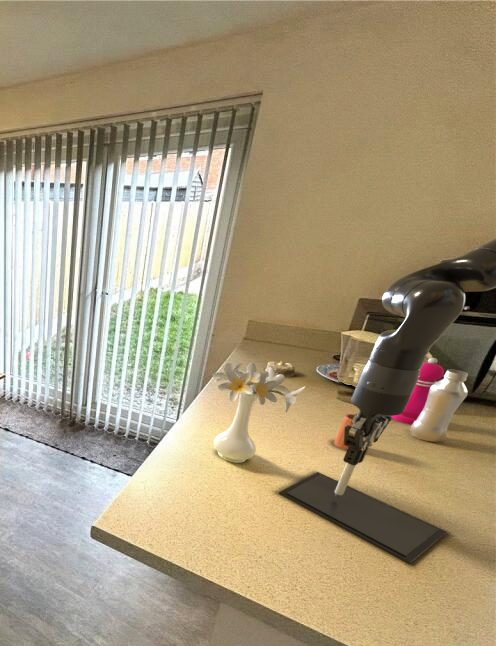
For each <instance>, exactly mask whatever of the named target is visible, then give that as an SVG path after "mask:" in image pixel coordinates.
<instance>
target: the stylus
mask: <svg viewBox="0 0 496 646" xmlns="http://www.w3.org/2000/svg"><path fill="white" fill-rule="evenodd" d="M356 466H357V465H355V466H354V465H351V464H349V463H346V462H345V465H344V468H343V470H342V473H341V475H340V478H339V480H338V485H337V487H336V489H335V493H336V494H335V496H336V497H338V498H339V497H340V496H341V495H343V493H344V491H345V489H346V486H348V484H349V482H350V479H351V477H352V475H353V472H354V470H355V468H356Z"/></svg>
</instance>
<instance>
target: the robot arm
mask: <svg viewBox="0 0 496 646" xmlns="http://www.w3.org/2000/svg"><path fill="white" fill-rule="evenodd" d="M494 289H496V238H494V239H492V240H490V241H488V242H486V243H484V244H482V245H480V246H478V247H476V248H474V249H472V250H470V251H468V252H466V253H465V254H463V255H461V256H458V257H455V258H452V259H448V260H445V261H442V262H439V263H436V264H433V265H430V266H427V267H425V268H422V269H418V270H416V271H414V272H411V273H408V274H406V275H404V276H403V277H401V278H399V279H397V280H396V281H394V282H393V283H391V284H390V286H388V287H387V289H386V290H385V291H384V293H383V295H382V298H381V304H382V306H383V308H384V309H385V310H386V311H387V312H389V313H390V314H392V315H395V316H400V317H403V318H404V320H403V322H402V324H401V325H400V326H399V327H398V328H397V329H388V330H385V331H383V332H381V333H380V334H379V335H378V336H377V338H376V340H375V343H374V345H373V348H372V350H371V351H370V352H371V353H370V355H369V358H368V359H367V362H366V364H365V365H364V366H363V367H364V369H363V371H362V373H361V375H360V378H359V381H358V383H357V386H356V387H354V388H355V389H354V391H353V393H352V396H351V399H350V402H351V404H352V405H353V406H355V407H356V408H357V409H358V410H359V412H358V413H355V416H354V418H353V420H352V422H353V424H352V426H349V425H347V426H346V427H345V431H344V445H346V446H348V449H347V450H346V452H345V453H344V456H343V459H342V460H343V462H344V463H345V464H346V463H349V464H351V465H354V466H355V465H356V466H357V465H358V464H361V463H362V462H364V459H365V457H366V455H367V453H368V451H369V448H371V447H373V443H376V442H379V439H380V437H381V436H382V434H383V433H384V432H385V430H386V428H387V427H388V425H389V423H390V422H391V421H392V419H393V418H392V417H391V416H396V415H400V414H402V413H403V412H404V410H405V408H406V405H407V403H408V401H409V399H410V397H411V394H412V392H413V390H414V388H415V386H416V384H417V381H418V378H419V374H420V370H421V368H422V366H423V364H424V362H425V361H426V359H427V357H428V355H429V352H430V349H431V348H432V346H434V344H435V343H436V342H437V341H438V340H439V339H440V338H441V337H442V336H443V335H444V334H445V332H447V330H448V329H449V328H450V327H451V326H452V325H453V323H454V322H455V321H456V320H457V319H458V317H459V316H460V315H461V313H462V312H463V309H464V307H465V304H466V293H467V292H469V293H470V292H471V293H473V292H474V293H475V292H487V291H490V290H494ZM356 466H355V467H356Z"/></svg>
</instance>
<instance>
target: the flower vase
mask: <svg viewBox="0 0 496 646" xmlns="http://www.w3.org/2000/svg"><path fill="white" fill-rule="evenodd" d="M242 365H243V363H242V362H241V363H238V364H236V365H235V366H234V368H233V363H231V362H229V363H227V364H225V365H224V368H223V372H222V371H221V372H215V373H213V374H212V375H211V377H212V378H217V379H216V380H215V381H214V383H220V382H222V383H220V384H219V385H218V386H217V389H218V390H220V391H223V392H228V391H230V392H229V395H228V397H229V401H230V402H235V401H237V400H238V404H237V409H236V411H235V414H234V418H233V421H232V423H231V424H230V426H229V427H228V428H227V429H226V430H225V431H222V432H220V433H218V434H217V435H216V436H215V438H214V440H213V446H214V448H215V450H216V451H217V454H218V456H219V457H220V458H221V459H223V460H225V461H227V462H231V463H235V464H236V463H237V464H239V463H244V462H245V461H246V460H248V459H251V458H252V457H254V455H255V454H256V452H257V447H256V443H255V442H254V440H253V439H252V438H251V436H250V434H249V425H250V424H249V423H250V418H251V415H252V410H253V407H254V405H255V403H256V401H257V399H258V401H259V402H258V403H259V404H260V405H261V406H263V405H264V404H265V403H266V399H267V400H268V401H269V402H272V403H277V402H278V399H277V396H276V395H275V394H278V395H279V396H282V397H283V401H284V415H285V416H286V415H287V413H288V411H289V409H290V407H291V406H293V405H295V404H296V402H297V400H298V397H297V396H298V395H299V394H300V393H301V392H303V390H304V389H306V387H307V386H306V385H305V386H303V387H300V388H298V389H296V390H293V391H290V390H289V388H288V387H286V386H284V385H283V383H284V382H285V380H286V377H285V376H284V375H282V374H279V375H274V372H273V370H272V368H270V367H269V372H267V371H266V370H263V371H259V372H257V371H258V369H257V365H256V364H255V363H254V362H250V363H248V365H247V367H246V371H244V370H241V369H240V368H241V367H242ZM224 381H229V382H224ZM251 386H252V387H251Z"/></svg>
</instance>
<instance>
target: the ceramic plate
mask: <svg viewBox="0 0 496 646" xmlns="http://www.w3.org/2000/svg"><path fill="white" fill-rule="evenodd" d="M339 364H340V363H328V364H327V363H326V364H321V365H319V366H317V367H316V372H317V374H319V375H320V376H321V377H324V378H326V379H328V380H330V381H334V382H336V383H339V382H338V378H337V375H338V368H339Z"/></svg>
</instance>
